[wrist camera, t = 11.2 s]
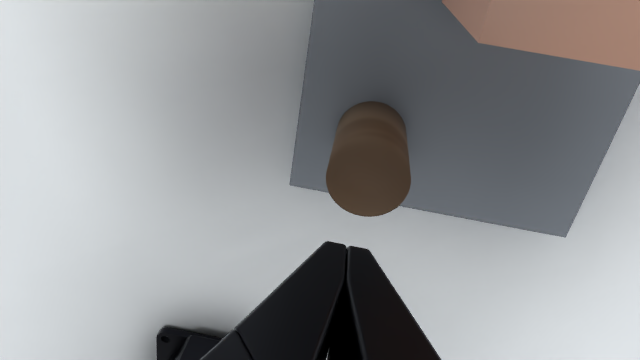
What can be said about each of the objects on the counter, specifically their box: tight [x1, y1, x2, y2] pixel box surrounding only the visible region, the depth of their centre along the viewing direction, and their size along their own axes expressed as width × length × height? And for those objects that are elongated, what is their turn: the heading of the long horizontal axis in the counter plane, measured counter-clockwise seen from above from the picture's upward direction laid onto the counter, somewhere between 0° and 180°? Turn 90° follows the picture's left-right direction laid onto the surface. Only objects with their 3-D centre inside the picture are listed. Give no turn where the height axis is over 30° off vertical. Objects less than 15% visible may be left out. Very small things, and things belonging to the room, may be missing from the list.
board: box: [290, 0, 640, 237], centre depth 17 cm, size 16×12×1 cm
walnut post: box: [326, 101, 411, 217], centre depth 18 cm, size 3×3×4 cm
